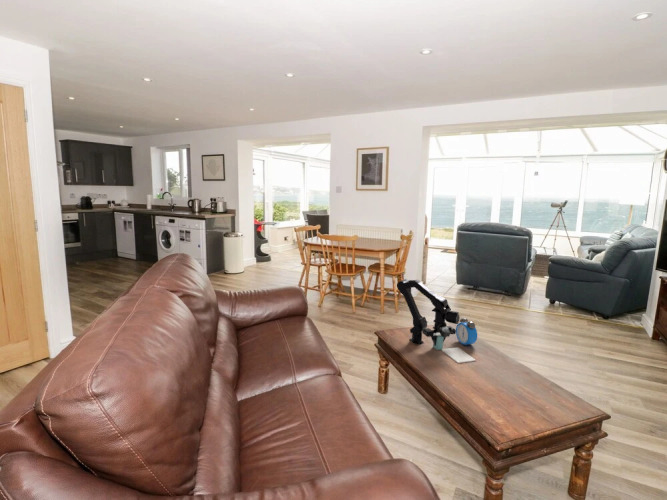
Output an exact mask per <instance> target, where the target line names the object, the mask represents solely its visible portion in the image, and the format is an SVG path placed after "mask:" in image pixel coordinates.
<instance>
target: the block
mask: <svg viewBox="0 0 667 500" xmlns="http://www.w3.org/2000/svg"><path fill="white" fill-rule="evenodd" d="M436 336H438V337H437V338H436V346H435V345H434V344H433V343H432V347H433V349H435V350H436V351H437V350H438V351H439V350H440V351H441V350H442V349H444V342H443V340H444V337H442V336H441V334H440V333H436ZM444 341H445V340H444Z"/></svg>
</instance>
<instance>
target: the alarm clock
mask: <svg viewBox="0 0 667 500" xmlns="http://www.w3.org/2000/svg"><path fill="white" fill-rule="evenodd" d="M455 330H456V334H455V336H456V338H457V340H458V342H459V343H461V345H463V346H464V345H465V346H467V345H472V344H475V343H476V342H477V341H478V330H477V327H476V324H475V323H474V321H469V319H468V318H465V317H463V318H460V319H459V323H458V324H456V327H455Z"/></svg>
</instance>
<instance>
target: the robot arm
mask: <svg viewBox="0 0 667 500" xmlns="http://www.w3.org/2000/svg"><path fill="white" fill-rule="evenodd" d="M396 288H397V290H398V291H399V293H400V294H401V295H402V297H403V298H404V300H405V302H406V304H407V306H408V310H409V312H410V315H411V316H412V317H411V318H412V325H413V327H412V328H410V329H409V332H410V334H411V338H408V339H409V341H410V342H411V343H412V344H414V345H416V344H424V341H423V335H424V336H426V337H427V338H431V340H432V345H433V344H434V345H435V346H436V338H437V337H438V336H436V334H441V336H442V337H444V340H443V343H444V342H445V340H446V338H448V337H449V338H450V336H451V335H456V328H454V327H453V326H452V325H449V326H447V323H450V324H454V325H458V323H460V319H461V318H460V314H459V311H454V310H452V308H451V307H450V305H449V303H448V300H447V299H446V298H445V297H443V296H441V295H439V294H436V293H435V292H434V291H433V290H431V289H430V288H428V287H427V286H426V285H425V284H424V283H422V282H421V281H420V280H419V279H414V280H413V279H411V280H410V279H409V280H408V279H402V280H399V281H398V282H397V284H396ZM412 288H415V289H416V290H417V291H418V292H419V293H421V294H422V295H423V296H424V297H426V298H427V299H428V300H429V301H430V302H431V305H433V306H434V308H433V309H432V310H431V312H434V320H433V323H434V326H432V329H431V328H429V327H428V321H427V319H426V316H423V315H421V313H420V311H419V308H418V306H417V303H416V301H415V299H414V297H413V294H412ZM427 327H428V328H427Z"/></svg>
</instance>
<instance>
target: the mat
mask: <svg viewBox="0 0 667 500" xmlns="http://www.w3.org/2000/svg"><path fill="white" fill-rule="evenodd" d="M441 351H442V352H443V353H444V354H445V355H446V356H448V357H449V358H450V359H452V360H453V361H454V362H456V363H457V364H462V363H463V364H464V363H470V362H476V359H475V358H474V357H472V356H471V355H469V353H467V352H465V351H464V350H463V349H461V348H460V347H449V348H443V349H441Z"/></svg>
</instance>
